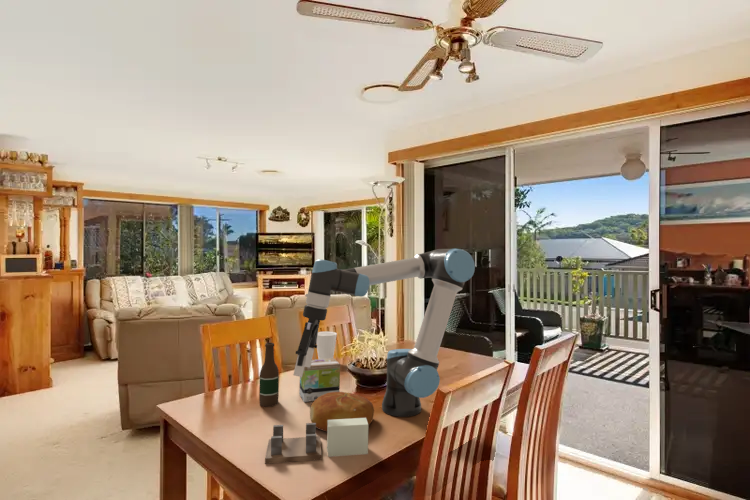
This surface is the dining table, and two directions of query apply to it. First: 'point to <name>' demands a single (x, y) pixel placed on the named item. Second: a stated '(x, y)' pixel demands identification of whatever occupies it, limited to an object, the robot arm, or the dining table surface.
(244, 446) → the dining table surface
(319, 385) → the tea box
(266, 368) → the beer bottle
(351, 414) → the bread
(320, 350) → the cup
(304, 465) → the dining table surface
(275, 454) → the grey slab holder
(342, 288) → the robot arm
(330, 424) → the cream flat block
